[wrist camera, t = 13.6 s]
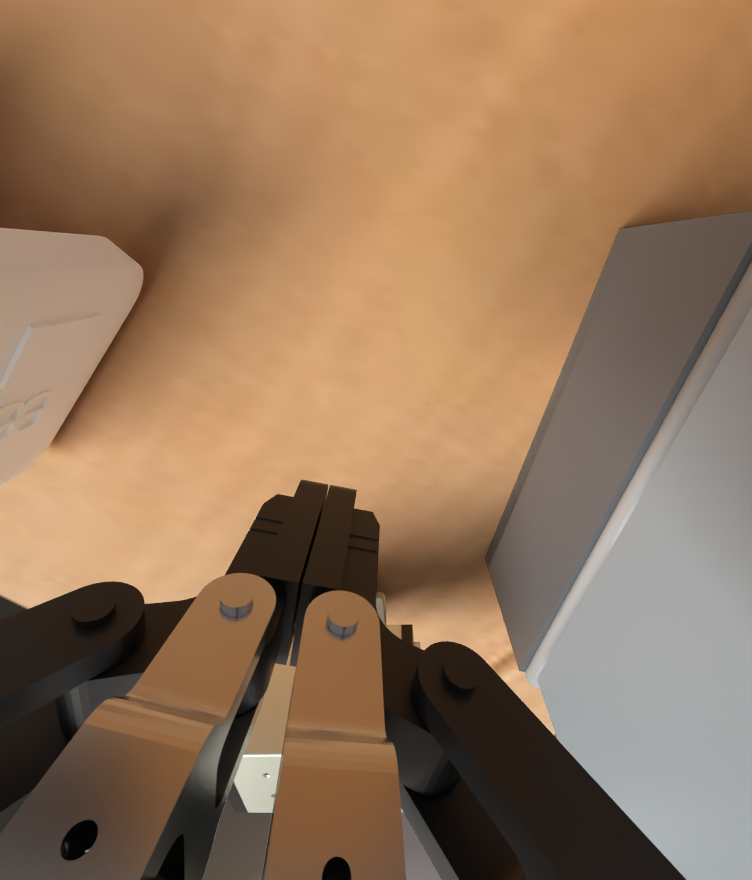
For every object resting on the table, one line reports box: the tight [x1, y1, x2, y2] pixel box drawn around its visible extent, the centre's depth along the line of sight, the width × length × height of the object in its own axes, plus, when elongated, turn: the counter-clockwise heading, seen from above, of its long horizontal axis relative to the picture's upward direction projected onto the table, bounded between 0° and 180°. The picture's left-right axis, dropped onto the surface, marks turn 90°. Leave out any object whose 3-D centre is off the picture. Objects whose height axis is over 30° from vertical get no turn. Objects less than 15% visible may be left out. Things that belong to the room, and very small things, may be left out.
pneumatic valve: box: [228, 592, 420, 812], centre depth 22 cm, size 6×12×12 cm, turn 96°
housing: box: [485, 210, 752, 690], centre depth 18 cm, size 19×14×8 cm
